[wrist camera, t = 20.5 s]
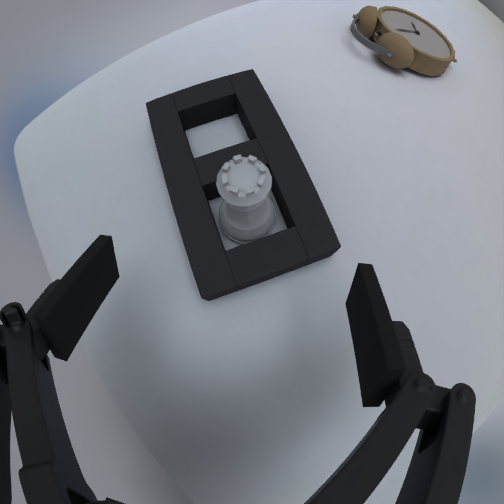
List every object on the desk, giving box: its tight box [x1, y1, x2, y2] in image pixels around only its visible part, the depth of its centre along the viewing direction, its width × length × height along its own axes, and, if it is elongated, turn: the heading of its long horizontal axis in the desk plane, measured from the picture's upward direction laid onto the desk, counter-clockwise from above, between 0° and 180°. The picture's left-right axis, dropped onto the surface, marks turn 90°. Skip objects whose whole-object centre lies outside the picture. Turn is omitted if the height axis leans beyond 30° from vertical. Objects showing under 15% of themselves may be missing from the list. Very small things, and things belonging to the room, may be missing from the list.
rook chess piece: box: [216, 154, 276, 244], centre depth 21 cm, size 4×4×8 cm
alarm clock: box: [350, 6, 457, 76], centre depth 28 cm, size 11×5×15 cm
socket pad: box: [146, 69, 341, 301], centre depth 24 cm, size 10×18×3 cm, turn 20°
